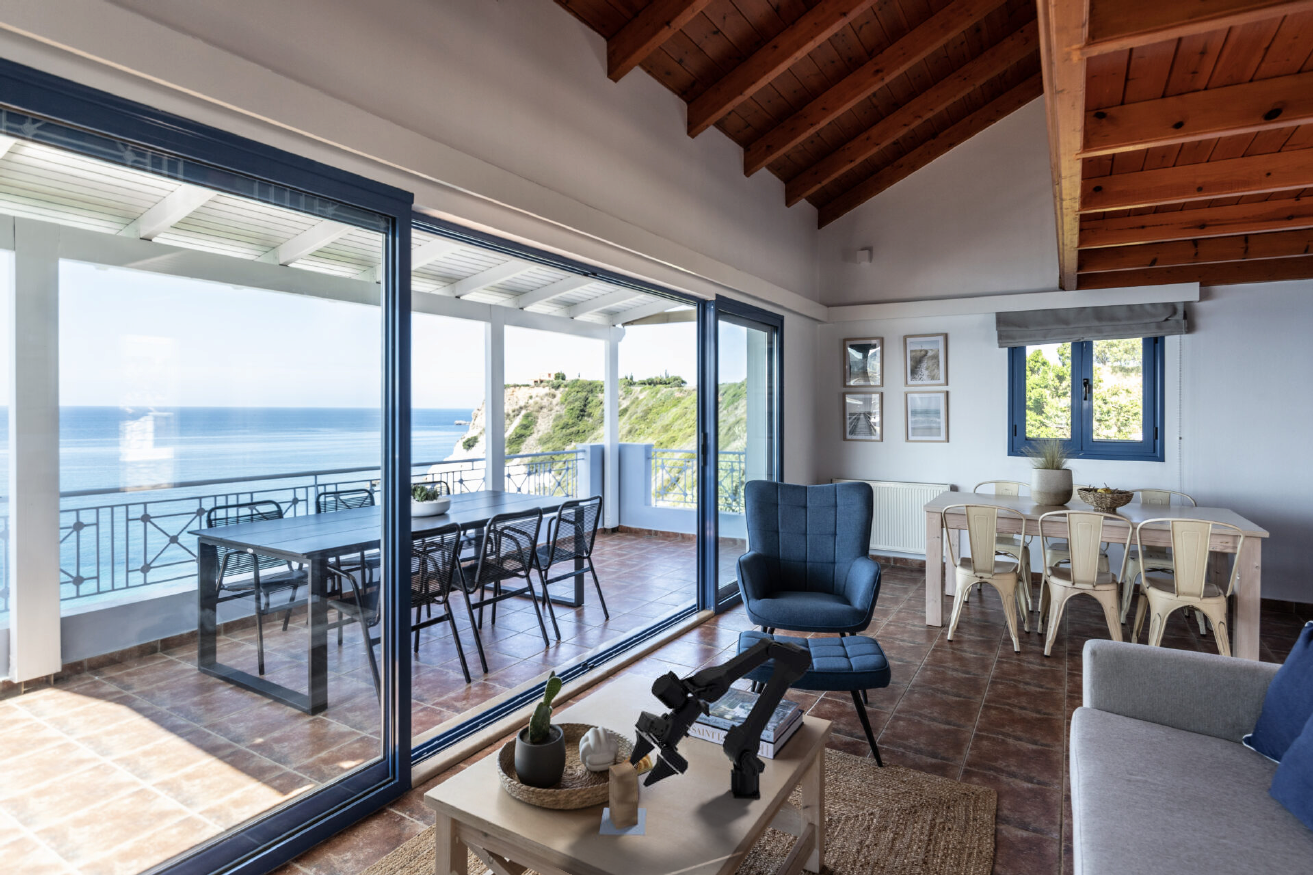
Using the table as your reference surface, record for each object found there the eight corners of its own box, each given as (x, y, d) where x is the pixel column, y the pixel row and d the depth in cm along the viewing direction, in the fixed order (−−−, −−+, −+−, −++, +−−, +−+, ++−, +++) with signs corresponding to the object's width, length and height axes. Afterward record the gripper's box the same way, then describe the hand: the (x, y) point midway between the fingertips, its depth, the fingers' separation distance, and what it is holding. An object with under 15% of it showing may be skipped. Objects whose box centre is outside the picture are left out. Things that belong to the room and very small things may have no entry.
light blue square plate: (646, 810, 162) (646, 808, 162) (644, 836, 152) (644, 834, 152) (604, 809, 163) (604, 807, 163) (599, 836, 153) (599, 833, 153)
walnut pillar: (629, 812, 161) (629, 761, 160) (637, 824, 156) (637, 772, 156) (609, 817, 159) (609, 766, 158) (617, 829, 154) (617, 776, 154)
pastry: (627, 783, 174) (627, 768, 174) (611, 772, 180) (611, 758, 179) (655, 770, 181) (655, 756, 180) (639, 760, 186) (639, 746, 186)
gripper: (642, 684, 168) (599, 737, 164) (676, 716, 151) (628, 776, 147) (671, 711, 172) (630, 763, 168) (707, 744, 155) (662, 804, 151)
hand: (636, 775), depth 158 cm, fingers open, 9 cm apart
